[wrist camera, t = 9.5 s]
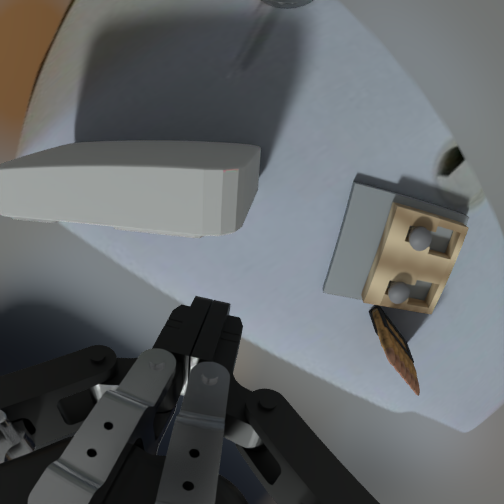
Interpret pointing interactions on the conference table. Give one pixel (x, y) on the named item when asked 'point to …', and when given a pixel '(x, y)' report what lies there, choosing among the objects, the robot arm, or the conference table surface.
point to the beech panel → (412, 259)
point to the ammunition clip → (395, 347)
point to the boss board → (368, 239)
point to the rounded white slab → (136, 186)
